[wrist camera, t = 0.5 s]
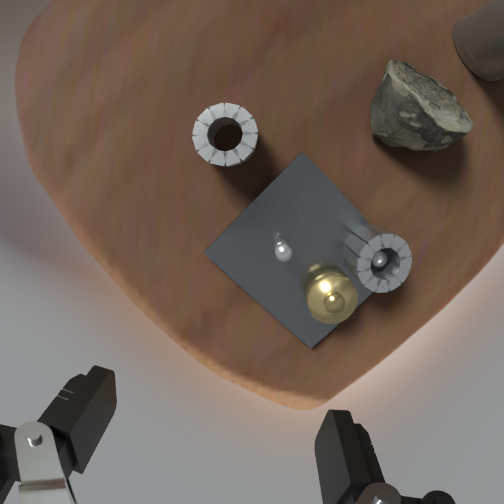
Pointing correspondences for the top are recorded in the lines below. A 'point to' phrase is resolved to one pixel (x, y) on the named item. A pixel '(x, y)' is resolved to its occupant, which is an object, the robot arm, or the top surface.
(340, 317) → the carrier
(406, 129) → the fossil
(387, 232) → the grey hollow pipe
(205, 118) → the planet gear
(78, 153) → the top surface
